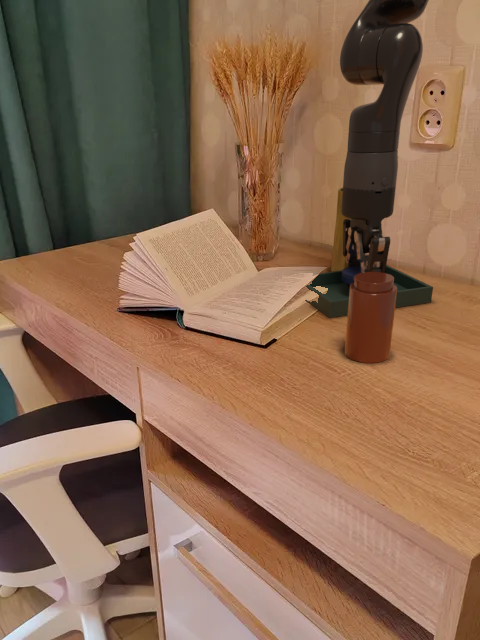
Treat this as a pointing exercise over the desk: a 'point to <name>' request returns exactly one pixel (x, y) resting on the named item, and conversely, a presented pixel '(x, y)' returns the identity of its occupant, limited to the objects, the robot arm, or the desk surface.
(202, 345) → the desk surface
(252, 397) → the desk surface
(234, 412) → the desk surface
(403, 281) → the tray
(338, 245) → the vase
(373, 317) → the jar
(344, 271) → the lid
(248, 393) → the desk surface
